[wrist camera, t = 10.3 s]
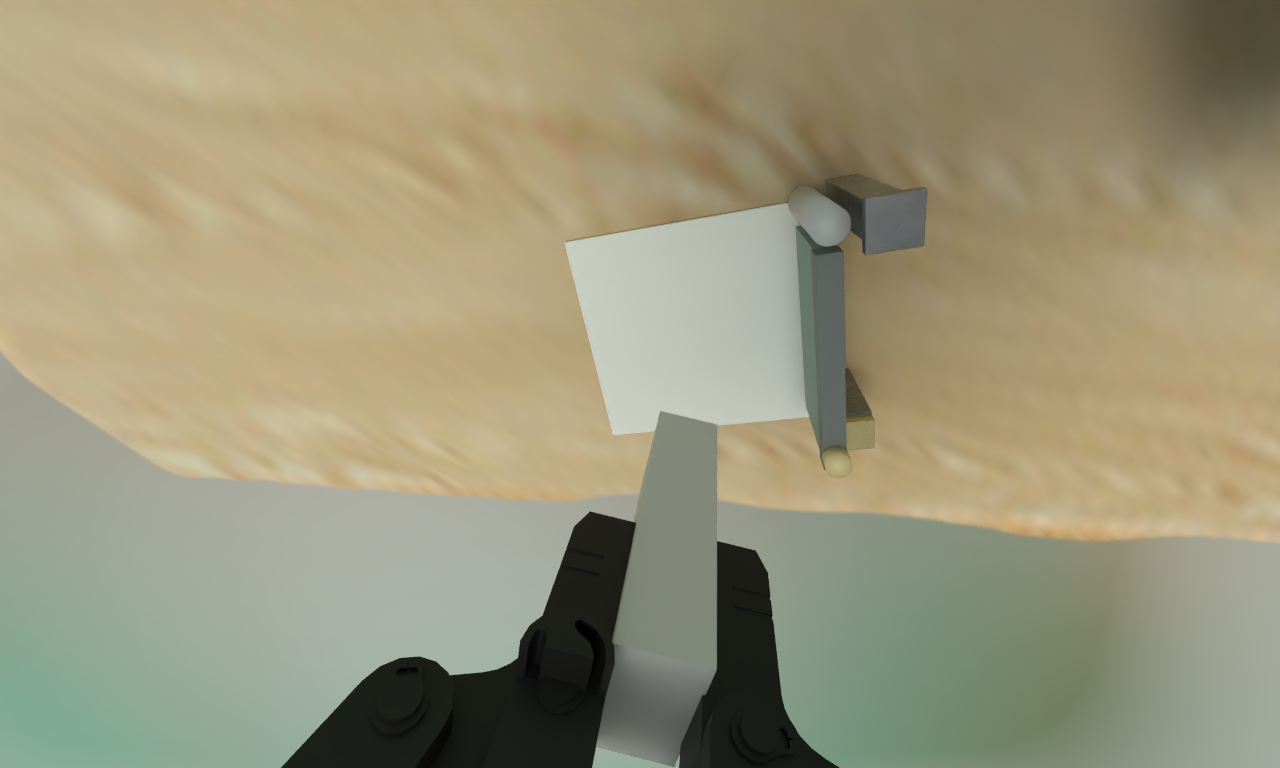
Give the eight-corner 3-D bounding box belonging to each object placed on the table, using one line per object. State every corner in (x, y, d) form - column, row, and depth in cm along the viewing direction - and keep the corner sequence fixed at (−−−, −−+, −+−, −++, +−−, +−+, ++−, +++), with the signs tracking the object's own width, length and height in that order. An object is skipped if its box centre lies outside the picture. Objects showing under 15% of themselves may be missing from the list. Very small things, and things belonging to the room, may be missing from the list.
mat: (801, 199, 34) (802, 200, 34) (812, 414, 42) (812, 416, 41) (565, 241, 38) (564, 242, 37) (613, 432, 45) (612, 434, 45)
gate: (786, 188, 33) (811, 211, 25) (818, 183, 33) (854, 204, 24) (800, 405, 40) (822, 481, 32) (826, 403, 40) (856, 479, 31)
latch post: (848, 368, 39) (874, 417, 33) (849, 397, 40) (874, 450, 34) (824, 371, 40) (845, 420, 33) (825, 400, 41) (846, 452, 34)
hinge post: (862, 168, 33) (927, 188, 23) (862, 209, 34) (924, 246, 24) (820, 176, 34) (865, 198, 23) (821, 216, 35) (865, 255, 24)
